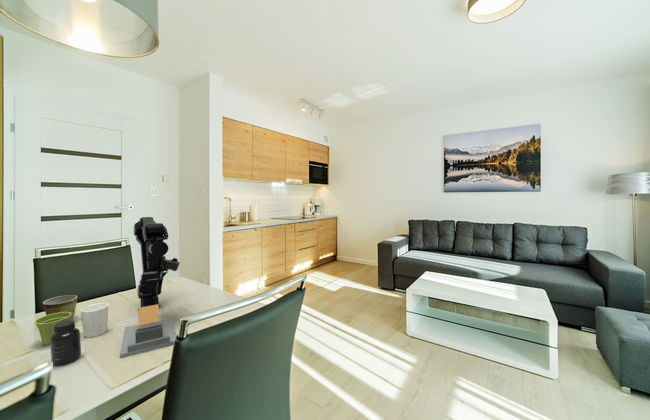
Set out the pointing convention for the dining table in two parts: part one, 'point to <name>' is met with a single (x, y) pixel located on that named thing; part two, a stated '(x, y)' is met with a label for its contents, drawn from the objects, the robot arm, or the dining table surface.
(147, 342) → the switch board
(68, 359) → the supplement bottle
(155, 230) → the robot arm
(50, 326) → the plant pot
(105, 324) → the white cup
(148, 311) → the lever
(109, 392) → the dining table surface
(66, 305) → the ceramic cup
